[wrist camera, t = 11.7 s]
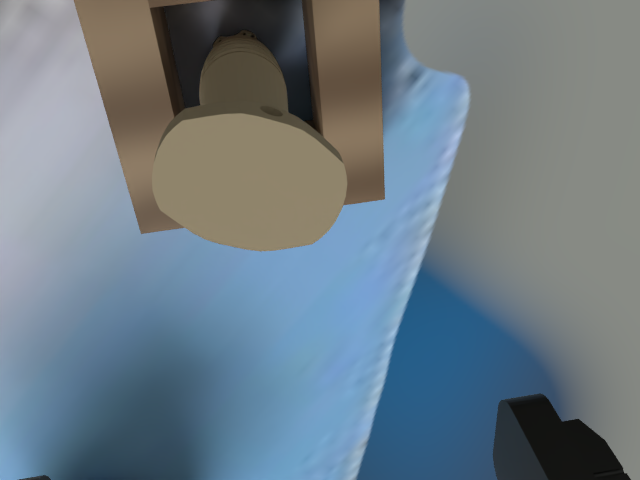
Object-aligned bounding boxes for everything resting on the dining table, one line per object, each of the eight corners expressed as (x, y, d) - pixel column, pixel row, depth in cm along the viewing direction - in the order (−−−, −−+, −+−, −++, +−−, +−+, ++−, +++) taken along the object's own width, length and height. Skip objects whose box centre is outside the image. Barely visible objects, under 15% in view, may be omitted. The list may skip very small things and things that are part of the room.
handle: (190, -7, 31) (169, 91, 18) (310, 32, 32) (367, 146, 20) (170, 83, 33) (139, 226, 20) (283, 116, 35) (318, 264, 22)
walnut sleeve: (80, -75, 28) (55, -62, 24) (354, -104, 29) (376, -97, 25) (150, 189, 36) (141, 233, 32) (366, 160, 37) (384, 199, 33)
